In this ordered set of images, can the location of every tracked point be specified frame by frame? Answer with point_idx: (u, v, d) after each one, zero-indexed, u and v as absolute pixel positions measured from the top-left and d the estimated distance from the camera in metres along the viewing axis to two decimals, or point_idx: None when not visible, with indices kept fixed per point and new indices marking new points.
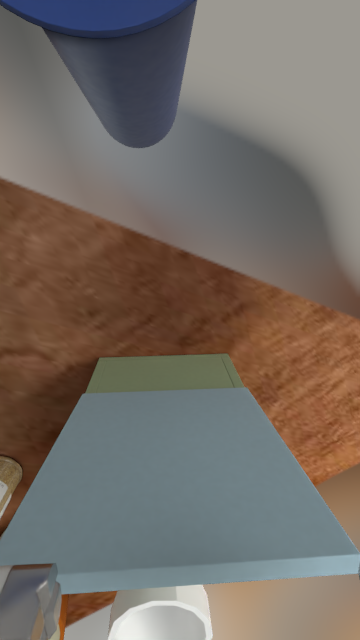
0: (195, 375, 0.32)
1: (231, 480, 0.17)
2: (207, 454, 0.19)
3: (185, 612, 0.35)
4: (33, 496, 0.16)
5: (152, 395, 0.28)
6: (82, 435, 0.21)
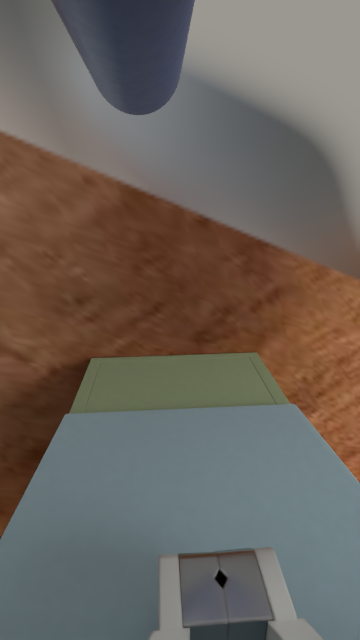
0: (219, 384, 0.24)
1: (329, 629, 0.09)
2: None
3: None
4: None
5: (163, 417, 0.19)
6: (57, 501, 0.13)
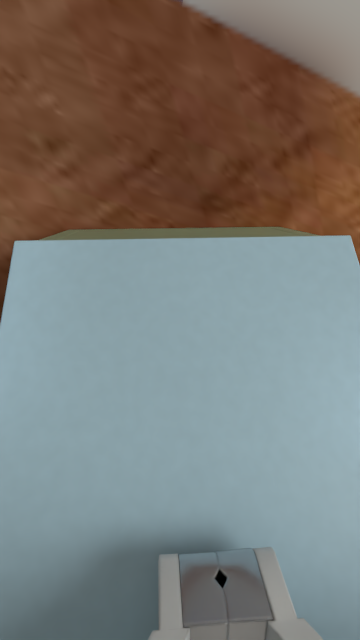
0: (236, 234, 0.18)
1: (322, 597, 0.09)
2: (277, 503, 0.10)
3: None
4: None
5: (160, 257, 0.14)
6: (31, 419, 0.11)
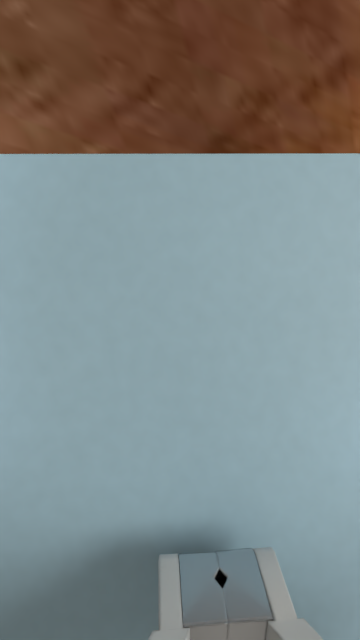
0: None
1: (312, 568, 0.10)
2: (281, 490, 0.10)
3: None
4: None
5: (159, 186, 0.10)
6: (11, 406, 0.09)
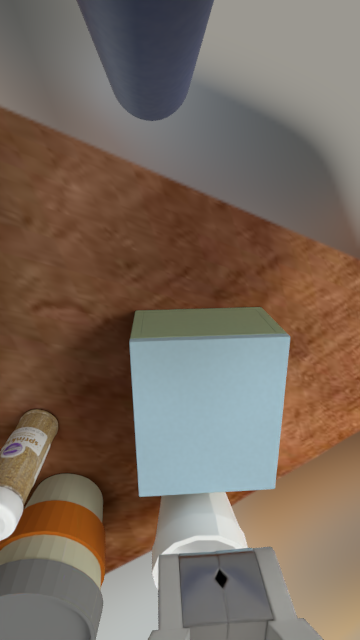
0: (234, 323, 0.33)
1: (239, 453, 0.33)
2: (231, 434, 0.32)
3: None
4: (141, 462, 0.33)
5: (197, 350, 0.29)
6: (150, 412, 0.31)
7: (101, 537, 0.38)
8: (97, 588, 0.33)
